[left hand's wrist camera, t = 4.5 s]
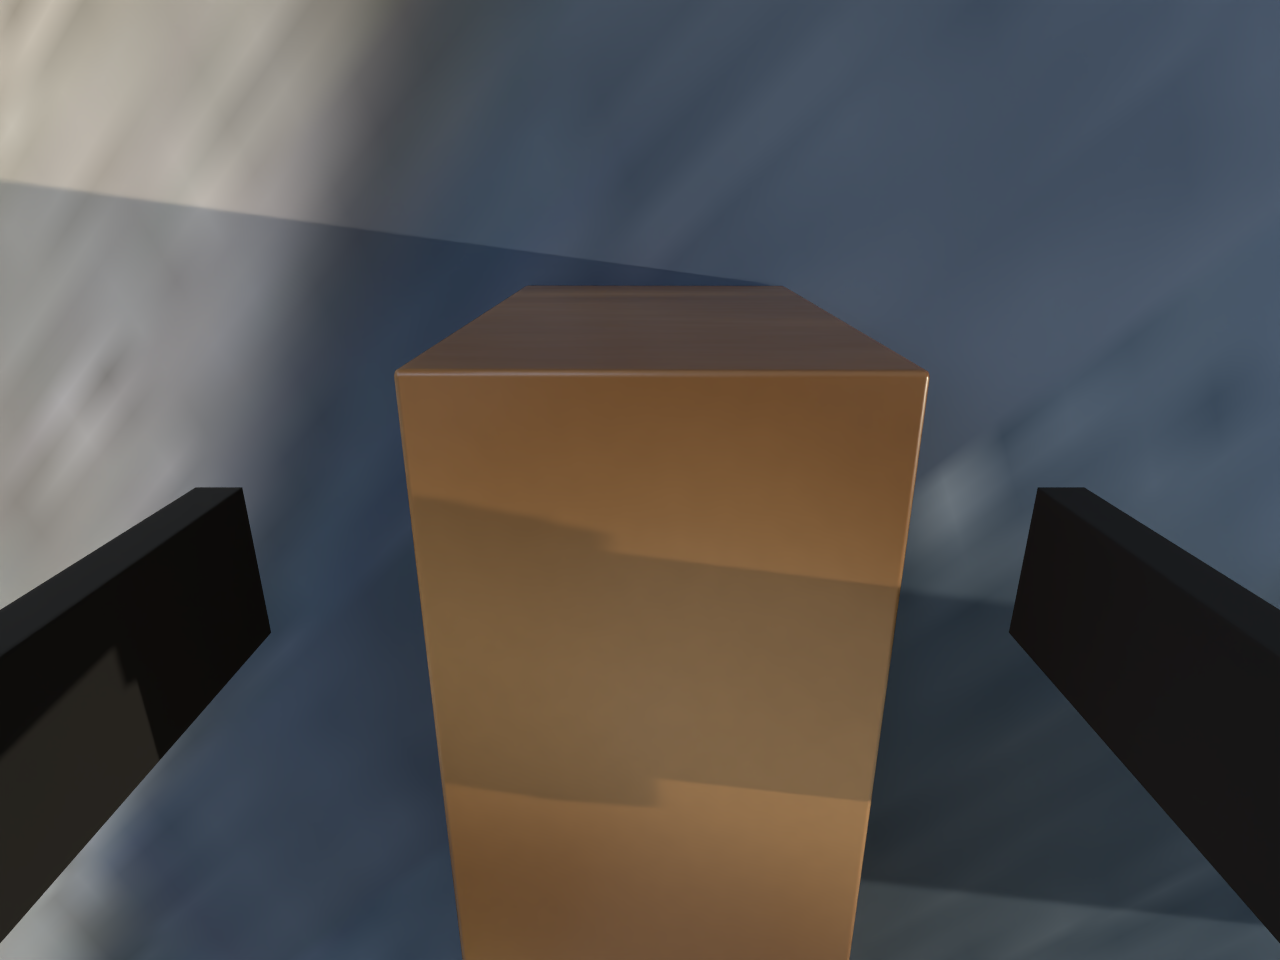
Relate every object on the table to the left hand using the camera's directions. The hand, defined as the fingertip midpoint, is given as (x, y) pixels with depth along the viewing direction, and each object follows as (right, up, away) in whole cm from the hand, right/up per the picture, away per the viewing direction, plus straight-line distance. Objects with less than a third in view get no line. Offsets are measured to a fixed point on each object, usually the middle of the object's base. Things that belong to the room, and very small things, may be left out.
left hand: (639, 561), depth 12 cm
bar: (0, -29, +14) cm, 32 cm away
